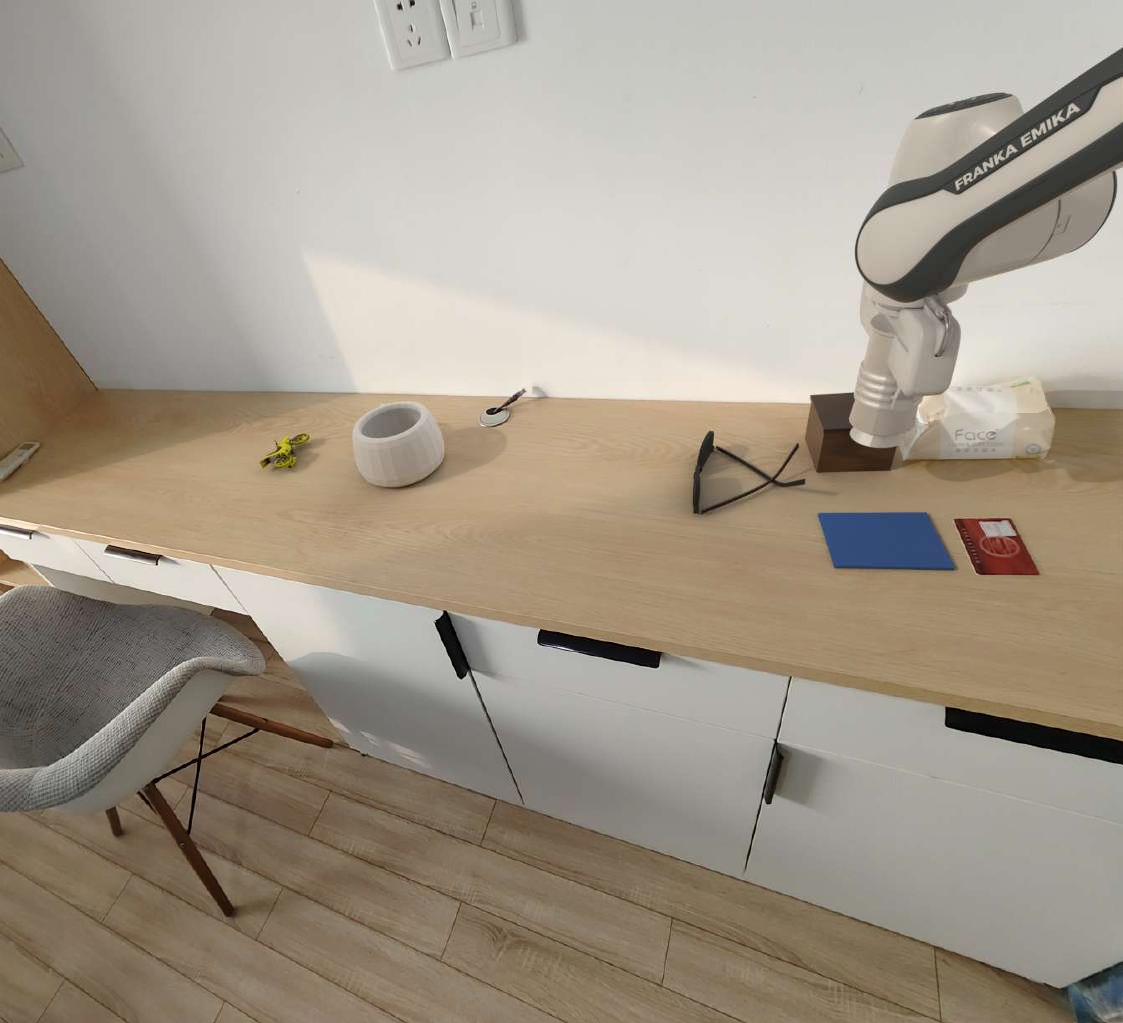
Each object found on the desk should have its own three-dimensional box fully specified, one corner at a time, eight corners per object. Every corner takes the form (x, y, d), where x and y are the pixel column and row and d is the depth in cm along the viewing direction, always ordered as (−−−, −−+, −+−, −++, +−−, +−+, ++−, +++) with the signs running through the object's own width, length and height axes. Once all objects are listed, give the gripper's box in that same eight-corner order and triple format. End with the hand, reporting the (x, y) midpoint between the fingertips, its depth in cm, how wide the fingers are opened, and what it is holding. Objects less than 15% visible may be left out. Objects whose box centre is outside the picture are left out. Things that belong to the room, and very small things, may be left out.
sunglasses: (799, 528, 80) (805, 498, 77) (684, 514, 87) (684, 487, 84) (804, 455, 91) (809, 427, 88) (701, 448, 98) (702, 422, 95)
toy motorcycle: (284, 459, 118) (253, 461, 120) (291, 474, 120) (261, 476, 122) (308, 425, 126) (279, 428, 129) (315, 441, 129) (287, 443, 131)
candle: (866, 414, 80) (892, 304, 71) (923, 432, 75) (960, 316, 66) (832, 436, 78) (855, 326, 69) (889, 456, 73) (921, 340, 64)
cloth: (925, 514, 77) (926, 512, 77) (954, 570, 70) (955, 567, 70) (817, 514, 81) (818, 512, 81) (834, 567, 74) (834, 565, 74)
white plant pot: (458, 473, 108) (446, 425, 101) (368, 504, 106) (351, 457, 100) (430, 421, 125) (418, 377, 118) (352, 446, 123) (336, 403, 117)
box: (874, 434, 91) (885, 390, 87) (892, 471, 85) (905, 425, 80) (803, 437, 94) (810, 394, 90) (815, 473, 88) (823, 429, 83)
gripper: (995, 312, 56) (951, 437, 64) (922, 241, 71) (895, 351, 79) (913, 319, 58) (881, 440, 66) (859, 249, 73) (839, 355, 81)
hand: (888, 391), depth 73 cm, fingers closed on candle, 7 cm apart
